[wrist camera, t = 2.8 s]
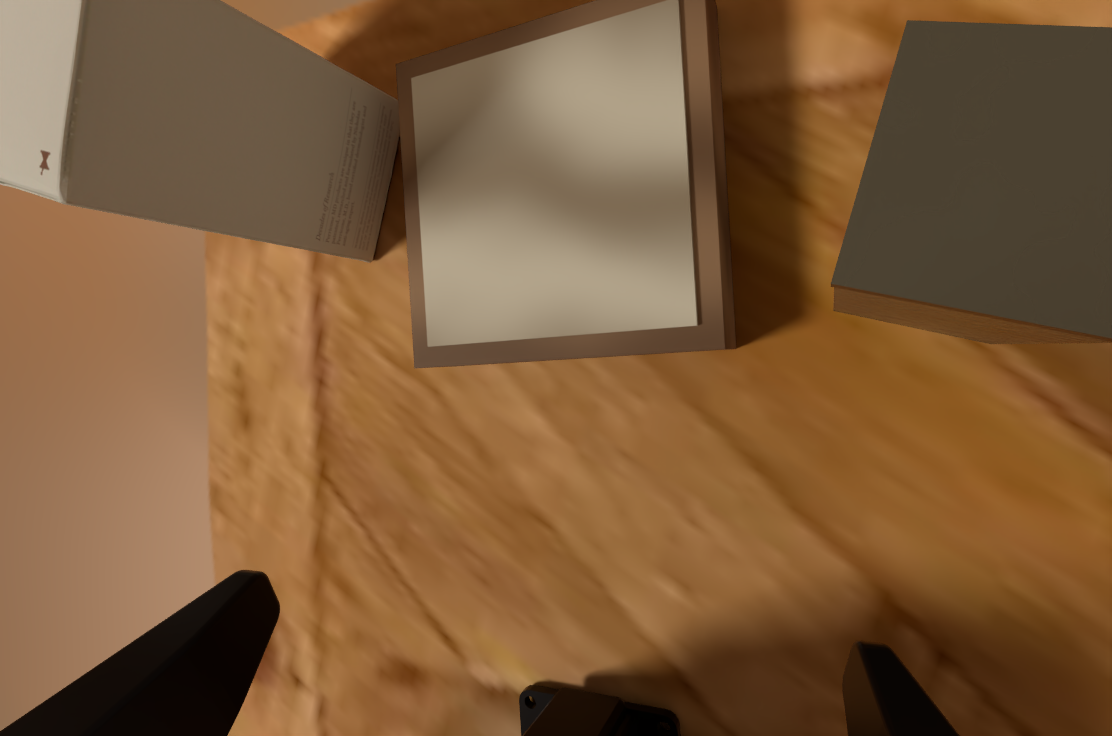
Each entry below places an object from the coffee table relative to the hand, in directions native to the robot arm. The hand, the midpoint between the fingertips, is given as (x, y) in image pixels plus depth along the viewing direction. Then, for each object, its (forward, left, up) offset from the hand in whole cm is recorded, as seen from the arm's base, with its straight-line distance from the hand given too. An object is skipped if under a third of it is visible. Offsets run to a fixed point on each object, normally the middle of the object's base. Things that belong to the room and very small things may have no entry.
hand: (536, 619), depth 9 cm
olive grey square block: (+7, -7, -14) cm, 17 cm away
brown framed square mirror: (+10, +5, -14) cm, 18 cm away
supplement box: (+14, +17, -14) cm, 26 cm away
